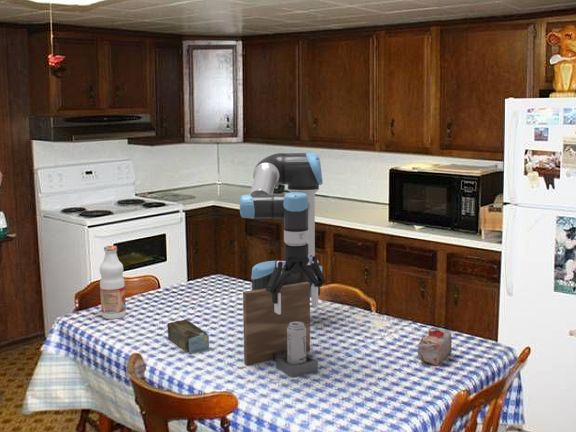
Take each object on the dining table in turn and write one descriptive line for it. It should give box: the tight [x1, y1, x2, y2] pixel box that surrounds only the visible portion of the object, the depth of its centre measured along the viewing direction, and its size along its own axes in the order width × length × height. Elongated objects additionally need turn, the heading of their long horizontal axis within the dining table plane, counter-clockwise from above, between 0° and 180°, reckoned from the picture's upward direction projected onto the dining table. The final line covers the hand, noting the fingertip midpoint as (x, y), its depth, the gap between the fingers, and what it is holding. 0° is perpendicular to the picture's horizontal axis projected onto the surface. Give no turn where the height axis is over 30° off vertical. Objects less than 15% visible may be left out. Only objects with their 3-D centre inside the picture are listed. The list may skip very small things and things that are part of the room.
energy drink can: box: [287, 321, 307, 365], centre depth 220 cm, size 6×6×15 cm
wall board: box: [242, 282, 311, 366], centre depth 230 cm, size 2×24×24 cm, turn 121°
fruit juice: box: [99, 245, 127, 320], centre depth 275 cm, size 9×9×28 cm
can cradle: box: [272, 350, 319, 378], centre depth 224 cm, size 16×10×4 cm, turn 31°
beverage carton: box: [166, 318, 210, 355], centre depth 244 cm, size 8×19×7 cm, turn 31°
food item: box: [417, 328, 453, 366], centre depth 229 cm, size 14×8×10 cm, turn 148°
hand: (296, 309), depth 219 cm, fingers open, 13 cm apart
